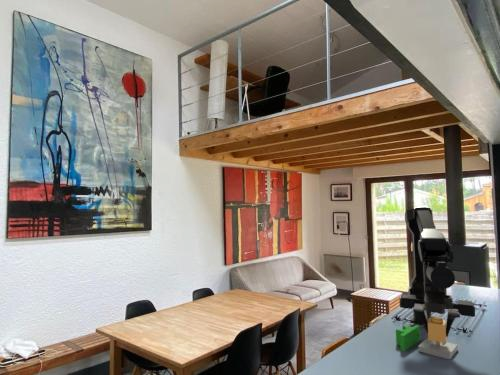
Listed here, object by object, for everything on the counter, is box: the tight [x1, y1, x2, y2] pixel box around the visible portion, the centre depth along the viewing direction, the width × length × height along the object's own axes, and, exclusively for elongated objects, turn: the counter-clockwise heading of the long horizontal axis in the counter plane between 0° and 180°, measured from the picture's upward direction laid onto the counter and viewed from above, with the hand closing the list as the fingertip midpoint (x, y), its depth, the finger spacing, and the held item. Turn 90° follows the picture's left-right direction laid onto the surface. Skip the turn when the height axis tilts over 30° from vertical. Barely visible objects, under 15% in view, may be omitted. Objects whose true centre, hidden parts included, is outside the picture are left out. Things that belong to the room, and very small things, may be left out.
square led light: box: [427, 315, 447, 343], centre depth 98 cm, size 4×4×6 cm
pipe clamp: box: [395, 324, 421, 352], centre depth 103 cm, size 11×4×5 cm, turn 132°
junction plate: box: [418, 337, 459, 360], centre depth 98 cm, size 9×8×5 cm
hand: (437, 334), depth 98 cm, fingers closed on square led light, 4 cm apart
